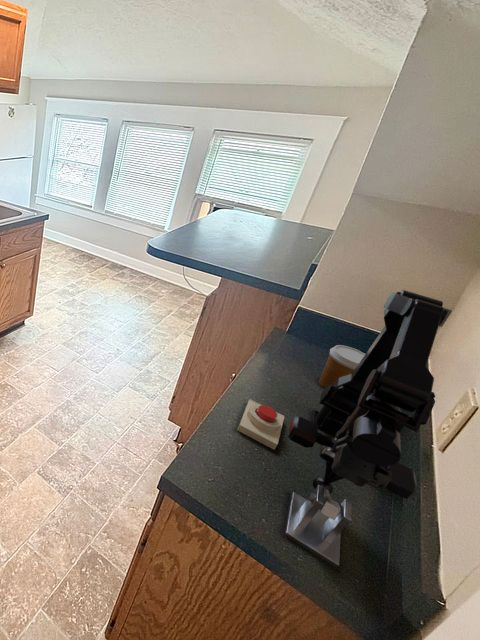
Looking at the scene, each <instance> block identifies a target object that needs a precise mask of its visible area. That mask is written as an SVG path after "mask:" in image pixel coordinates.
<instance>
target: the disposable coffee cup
mask: <svg viewBox="0 0 480 640" xmlns="http://www.w3.org/2000/svg"><path fill="white" fill-rule="evenodd" d="M365 354H366V353H364V352H362V351H360V350H359V349H356V348H354V347H351V346H348V345H343V344H336V345H335V346H333V347H331V348H330V349H329V355H328V358H327V360H326V361H325V362H326V363H325V365H324V368H323V370H322V372H321V375H320V377H319V379H318V383H319V385H320V386H321V387H322V388H324V389H325V388H326V387H327V386H329V385H330V384H332V385H334V384H335V382H336V381H337V379H338V378H340V377H343V376H346V375H349V374H352V373H353V372H354V370H355V369H356V367H357V366H358V364H359V363H360V361H361V360H362V359H363V357H364V356H365Z"/></svg>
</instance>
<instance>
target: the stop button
mask: <svg viewBox="0 0 480 640" xmlns="http://www.w3.org/2000/svg"><path fill="white" fill-rule="evenodd" d="M260 405H261V406H259V407H258V409H257V411H256V414H257V416H258V417H260V418H261V419H262V420H264V421H266V422H270V423H272V422H274V421H275V419H276V418H277V413H278V412H277V413H276V410H275V409H274V408H272V407H270V406H268V405H264V404H260Z"/></svg>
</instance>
